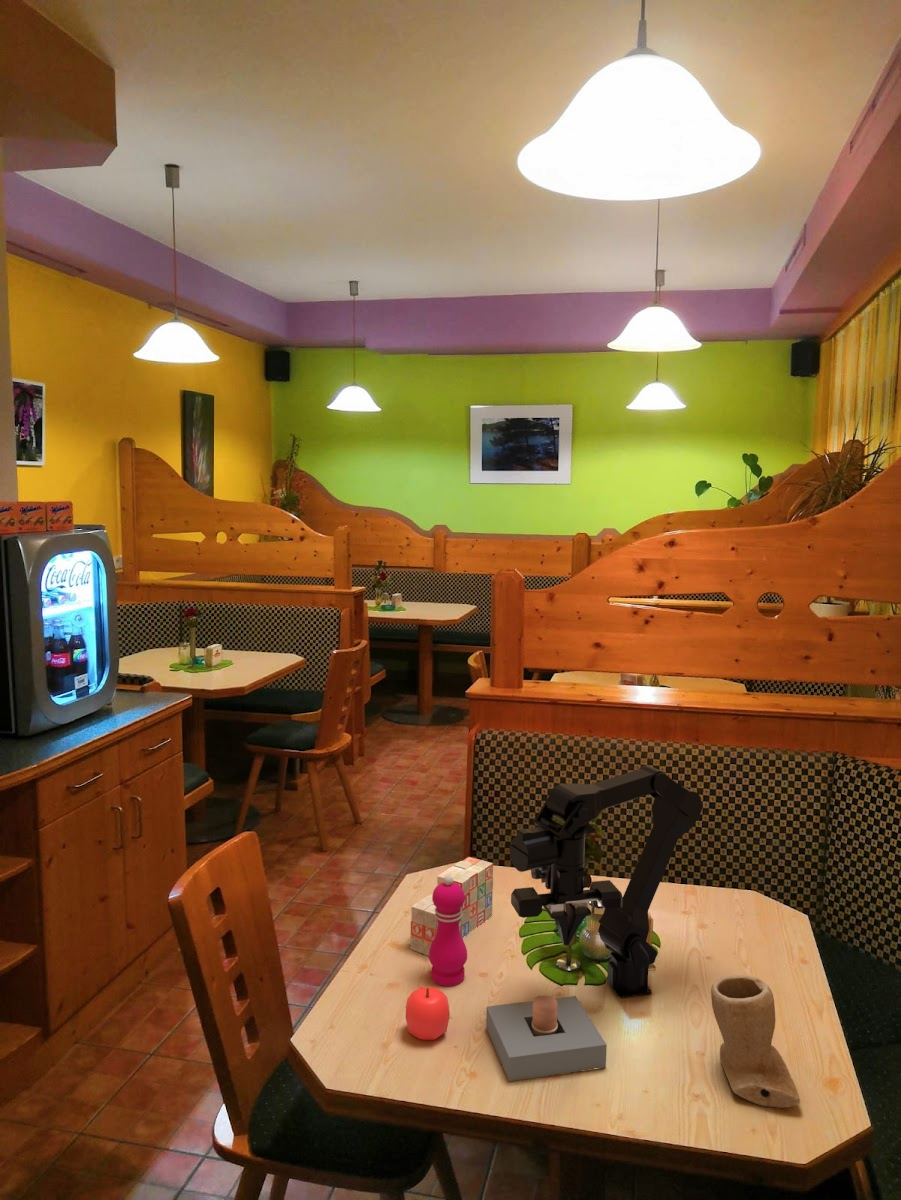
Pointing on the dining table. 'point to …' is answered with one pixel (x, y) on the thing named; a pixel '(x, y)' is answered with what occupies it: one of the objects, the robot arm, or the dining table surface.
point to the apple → (427, 1013)
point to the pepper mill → (448, 935)
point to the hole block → (544, 1040)
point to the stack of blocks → (475, 909)
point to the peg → (544, 1016)
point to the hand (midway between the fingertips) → (565, 944)
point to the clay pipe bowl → (751, 1041)
